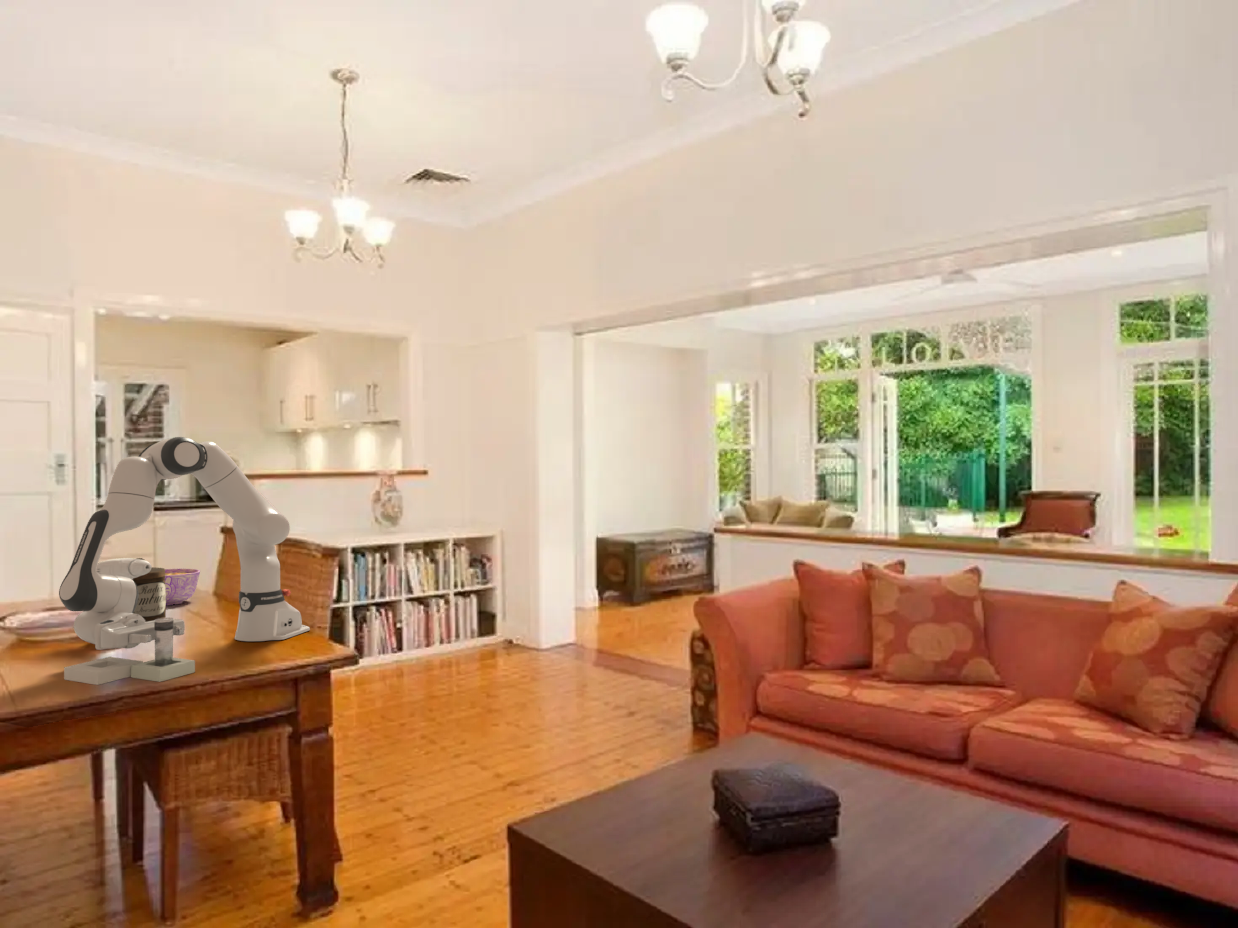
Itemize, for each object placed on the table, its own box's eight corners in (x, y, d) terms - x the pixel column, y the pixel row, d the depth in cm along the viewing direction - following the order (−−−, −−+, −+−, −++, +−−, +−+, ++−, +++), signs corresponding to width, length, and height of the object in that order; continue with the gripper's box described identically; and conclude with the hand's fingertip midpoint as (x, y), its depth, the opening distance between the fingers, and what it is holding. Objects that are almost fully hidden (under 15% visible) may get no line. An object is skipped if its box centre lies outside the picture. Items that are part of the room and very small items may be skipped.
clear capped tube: (165, 671, 216) (165, 616, 216) (177, 673, 214) (177, 618, 214) (150, 675, 212) (150, 619, 212) (162, 677, 210) (162, 621, 210)
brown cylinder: (129, 633, 261) (129, 562, 261) (102, 628, 269) (102, 558, 269) (175, 625, 274) (175, 557, 274) (148, 620, 282) (148, 554, 282)
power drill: (132, 650, 238) (132, 561, 238) (87, 640, 251) (87, 556, 251) (162, 644, 246) (162, 558, 245) (117, 635, 258) (117, 553, 258)
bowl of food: (157, 610, 300) (157, 577, 300) (128, 604, 311) (128, 572, 311) (211, 602, 317) (211, 571, 317) (181, 596, 328) (181, 567, 328)
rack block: (166, 668, 219) (166, 656, 219) (194, 672, 215) (194, 660, 215) (131, 677, 210) (131, 665, 210) (160, 681, 206) (159, 669, 206)
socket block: (110, 668, 219) (110, 656, 219) (143, 673, 214) (143, 661, 214) (64, 679, 208) (64, 667, 208) (97, 684, 203) (97, 672, 203)
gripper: (162, 634, 227) (200, 639, 222) (89, 650, 208) (128, 656, 203) (162, 611, 227) (200, 615, 222) (89, 625, 208) (128, 630, 203)
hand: (165, 635), depth 212 cm, fingers open, 8 cm apart
